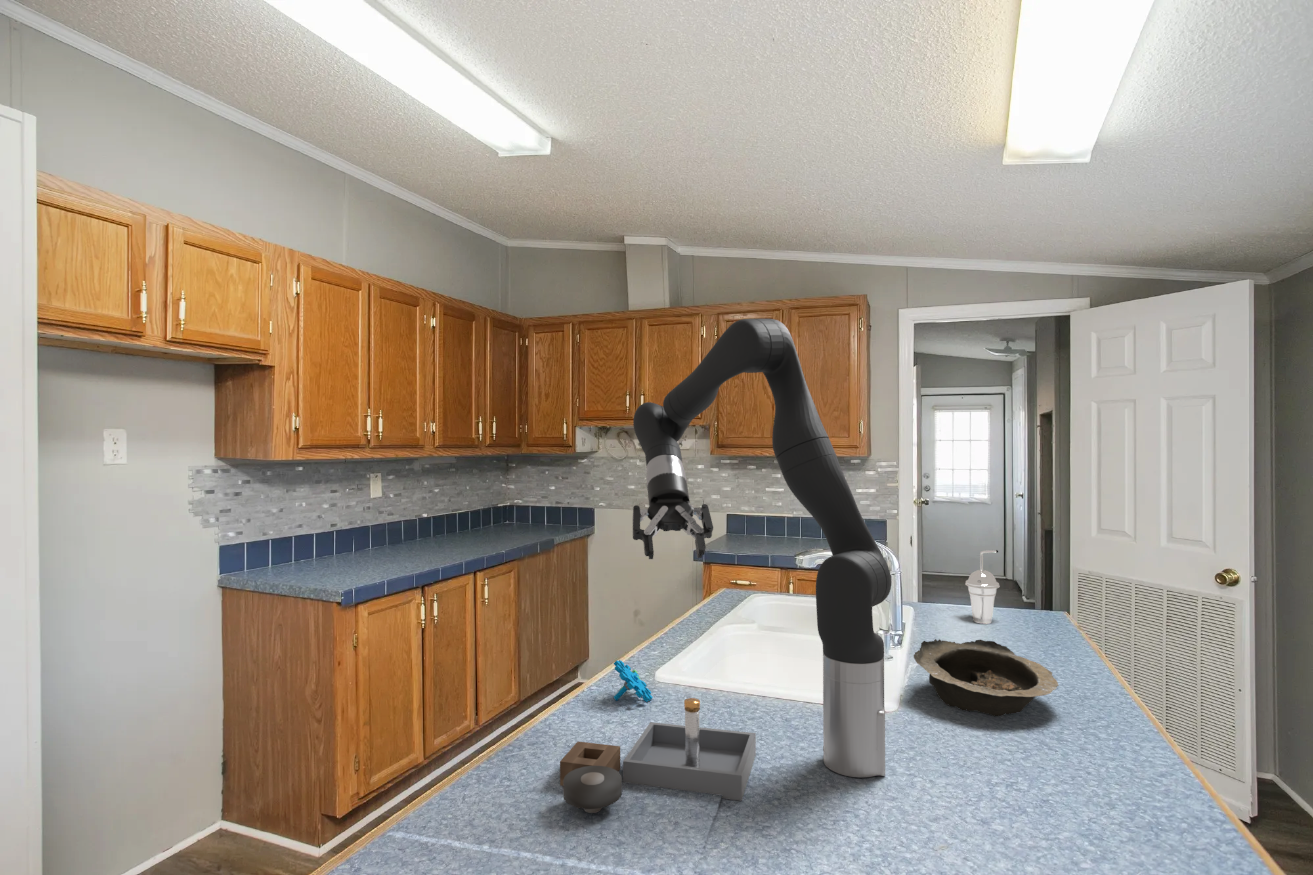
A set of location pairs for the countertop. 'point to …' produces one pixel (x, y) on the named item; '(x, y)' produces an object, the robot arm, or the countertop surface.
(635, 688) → the gear
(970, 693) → the stone bowl
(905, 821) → the countertop surface
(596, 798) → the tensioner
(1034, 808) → the countertop surface
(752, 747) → the tray
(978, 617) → the cup with straw
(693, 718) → the lock pin
